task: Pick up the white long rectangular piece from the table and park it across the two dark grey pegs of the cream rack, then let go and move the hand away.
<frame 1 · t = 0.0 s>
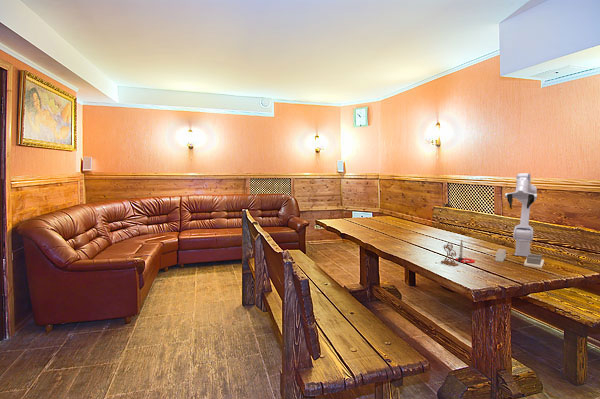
hand: (518, 206, 175), 32 cm above the table, tool tilted 50°, fingers open, 7 cm apart
tow hook: (465, 261, 189), on the table
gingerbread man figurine: (449, 264, 184), on the table
white long rectangular piece: (500, 259, 191), on the table
peg rack: (534, 263, 181), on the table
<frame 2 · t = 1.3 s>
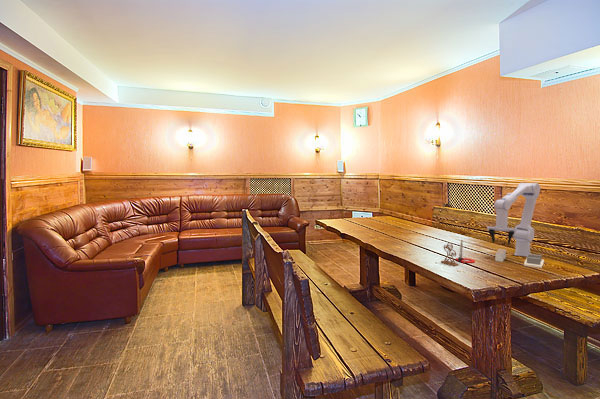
hand: (501, 243, 191), 9 cm above the table, tool pointing down, fingers open, 7 cm apart
nothing on the table moved.
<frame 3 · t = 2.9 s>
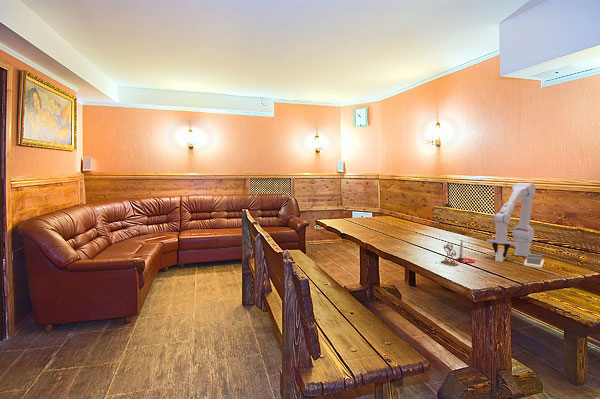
hand: (500, 256, 191), 2 cm above the table, tool pointing down, fingers closed on white long rectangular piece, 3 cm apart
white long rectangular piece: (500, 259, 191), on the table, touching gripper
everything else where it was.
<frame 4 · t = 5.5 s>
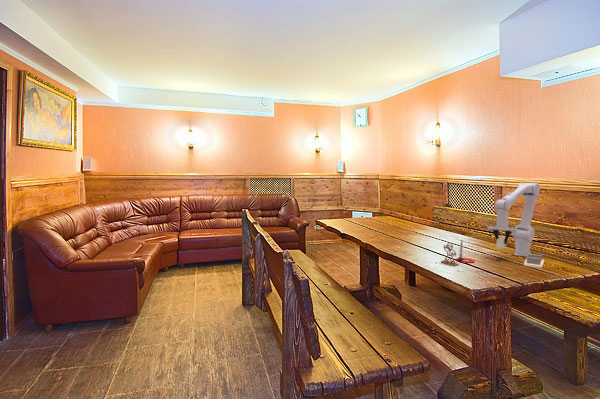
hand: (501, 243, 190), 9 cm above the table, tool pointing down, fingers closed on white long rectangular piece, 3 cm apart
white long rectangular piece: (501, 246, 191), point 8 cm above the table, touching gripper
everything else where it was.
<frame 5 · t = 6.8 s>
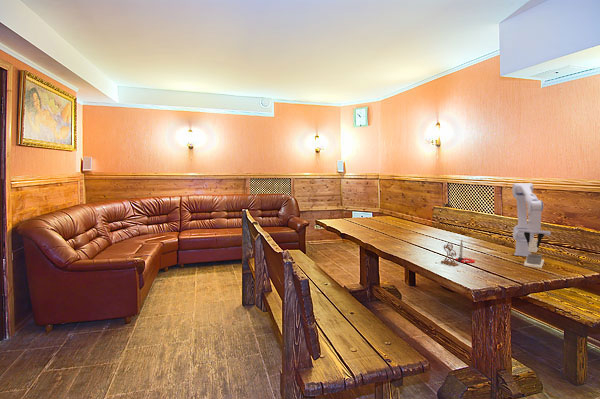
hand: (533, 246, 181), 9 cm above the table, tool pointing down, fingers closed on white long rectangular piece, 3 cm apart
white long rectangular piece: (533, 249, 181), point 8 cm above the table, touching gripper
everything else where it was.
when the fingers open (7 cm above the table, at t = 7.9 s): white long rectangular piece drops 1 cm, resting on peg rack.
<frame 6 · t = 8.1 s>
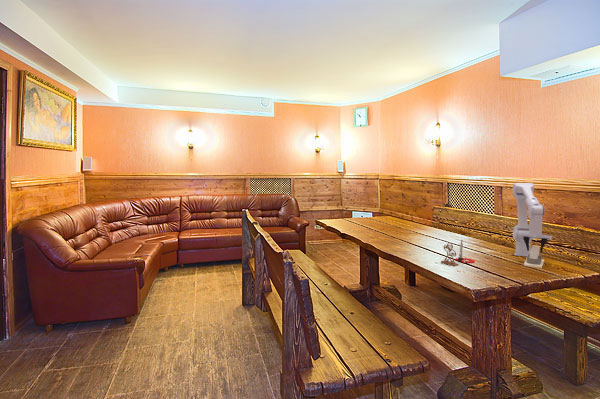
hand: (534, 251, 181), 7 cm above the table, tool pointing down, fingers open, 5 cm apart
white long rectangular piece: (534, 256, 181), point 4 cm above the table, touching peg rack
everything else where it was.
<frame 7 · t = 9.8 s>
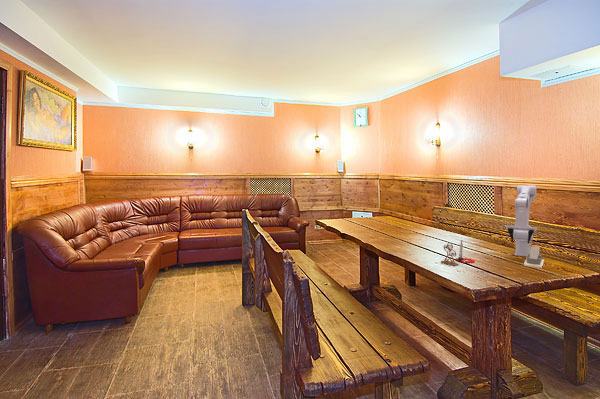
hand: (520, 242, 187), 10 cm above the table, tool pointing down, fingers open, 7 cm apart
nothing on the table moved.
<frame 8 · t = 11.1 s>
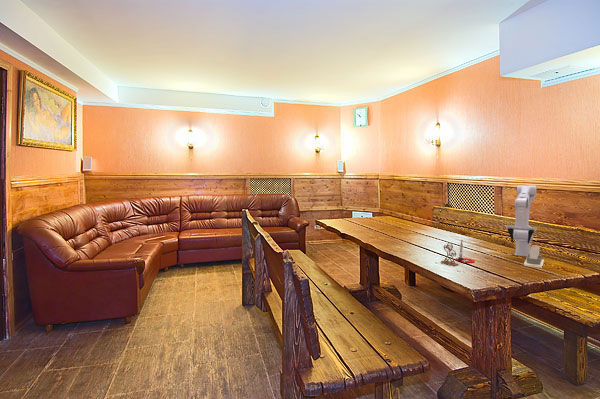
hand: (520, 242, 187), 10 cm above the table, tool pointing down, fingers open, 7 cm apart
nothing on the table moved.
at the end: white long rectangular piece 0.0 cm off-centre on the peg rack, point 4.0 cm above the peg rack's base; white long rectangular piece touching peg rack; the gripper is holding nothing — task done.
